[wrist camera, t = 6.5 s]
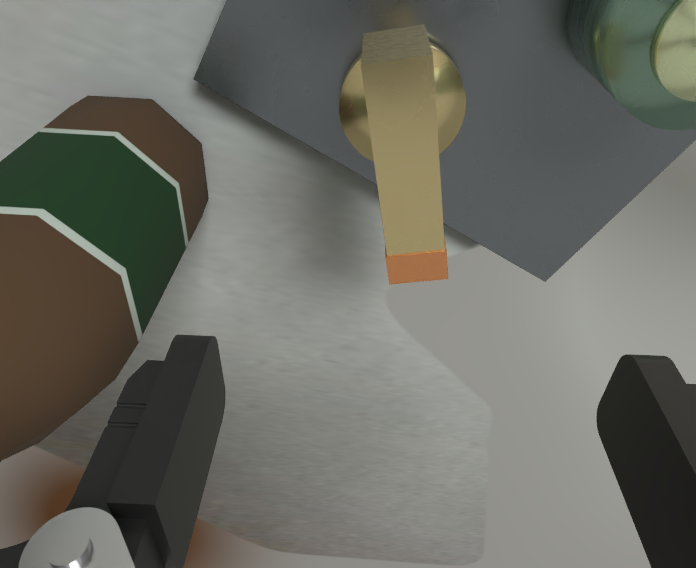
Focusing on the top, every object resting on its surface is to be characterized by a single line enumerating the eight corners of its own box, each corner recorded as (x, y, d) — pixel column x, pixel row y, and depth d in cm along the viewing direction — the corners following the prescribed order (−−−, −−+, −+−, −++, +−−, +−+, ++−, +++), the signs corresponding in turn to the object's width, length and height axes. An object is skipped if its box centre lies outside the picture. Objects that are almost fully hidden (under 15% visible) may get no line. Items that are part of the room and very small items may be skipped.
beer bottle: (162, 61, 24) (-601, 762, 5) (242, 207, 29) (-27, 882, 10) (23, 118, 26) (-907, 784, 7) (117, 247, 31) (-312, 876, 12)
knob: (325, 14, 22) (304, 74, 16) (459, -8, 21) (493, 46, 15) (354, 189, 26) (347, 288, 20) (465, 176, 26) (492, 274, 19)
